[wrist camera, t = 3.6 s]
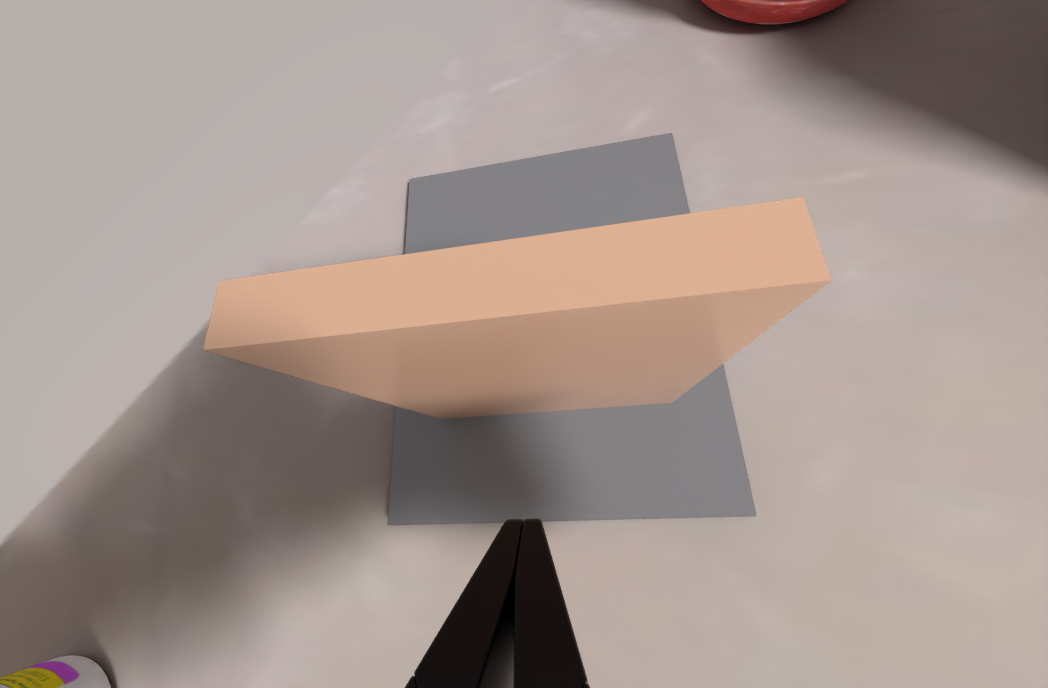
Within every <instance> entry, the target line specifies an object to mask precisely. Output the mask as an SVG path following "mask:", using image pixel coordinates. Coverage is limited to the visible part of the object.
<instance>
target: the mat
mask: <svg viewBox="0 0 1048 688" xmlns="http://www.w3.org/2000/svg"><path fill="white" fill-rule="evenodd" d="M689 213H690V212H689V207H688V203H687V198H686V194H685V189H684V185H683V180H682V176H681V171H680V166H679V162H678V157H677V153H676V148H675V144H674V139H673V135H672V133H668V134H663V135H657V136H651V137H646V138H640V139H634V140H629V141H623V142H617V143H612V144H606V145H600V146H595V147H589V148H583V149H578V150H572V151H566V152H561V153H555V154H549V155H544V156H538V157H532V158H527V159H521V160H515V161H510V162H504V163H498V164H493V165H487V166H481V167H476V168H470V169H464V170H459V171H453V172H447V173H442V174H436V175H430V176H425V177H419V178H413V179H410V181H409V197H408V212H407V228H406V244H405V254H411V253H418V252H425V251H432V250H438V249H445V248H452V247H459V246H466V245H473V244H480V243H487V242H494V241H501V240H508V239H515V238H522V237H529V236H536V235H543V234H550V233H557V232H564V231H571V230H578V229H585V228H592V227H599V226H606V225H613V224H620V223H626V222H633V221H640V220H647V219H654V218H661V217H668V216H675V215H682V214H689ZM744 516H757V515H756V511H755V506H754V502H753V497H752V493H751V488H750V483H749V479H748V474H747V470H746V465H745V461H744V456H743V452H742V447H741V443H740V438H739V434H738V429H737V425H736V420H735V416H734V411H733V406H732V402H731V397H730V393H729V388H728V384H727V379H726V375H725V370H724V366H723V364H722V365H720V366H719V367H718V368H717V369H715V370H714V371H713V372H711V373H710V374H709V375H707V376H706V377H705V378H704V379H702V380H701V381H700V382H698V383H697V384H696V385H694V386H693V387H692V388H690V389H689V390H688V391H687V392H685V393H684V394H683V395H681V396H680V397H679V398H677V399H676V400H675V401H674V402H672V403H662V404H648V405H634V406H619V407H605V408H591V409H576V410H562V411H548V412H533V413H519V414H505V415H490V416H476V417H462V418H447V419H439V418H436V417H432V416H429V415H426V414H422V413H419V412H415V411H412V410H408V409H405V408H401V407H398V406H395V417H394V433H393V449H392V464H391V480H390V496H389V512H388V525H414V524H455V523H496V522H505V521H506V520H508V519H523V521H524V520H525V519H532V518H539V519H540V520H541V521H579V520H620V519H661V518H702V517H744Z"/></svg>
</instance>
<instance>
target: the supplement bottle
mask: <svg viewBox="0 0 1048 688" xmlns="http://www.w3.org/2000/svg"><path fill="white" fill-rule="evenodd" d="M0 688H111V686H110V683H109V681H108V678H107V676H106V674H105V673H104V671H103V670H102V668H101V667H100V666H99V665H98V664H97V663H95V662H94V661H92V660H91V659H89V658H86V657H82V656H76V655H70V656H62V657H57V658H54V659H51V660H48V661H45V662H42V663H39V664H36V665H34V666H31V667H28V668H25V669H22V670H20V671H17V672H14V673H12V674H9V675H6V676H3V677H1V678H0Z"/></svg>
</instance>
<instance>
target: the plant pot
mask: <svg viewBox="0 0 1048 688" xmlns="http://www.w3.org/2000/svg"><path fill="white" fill-rule="evenodd" d="M701 1H702V2H703V3H704V4H705V5H707V6H708V7H709V8H711V9H712V10H714V11H716V12H717V13H719V14H721V15H723V16H726V17H729V18H731V19H735V20H738V21H743V22H748V23H756V24H784V23H791V22H797V21H801V20H806V19H809V18H812V17H816V16H818V15H821V14H824V13H826V12H828V11H830V10H833V9H835V8H837V7H839V6H841V5H842V4H844V3H846V2H847V1H849V0H701Z"/></svg>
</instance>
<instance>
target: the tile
mask: <svg viewBox="0 0 1048 688" xmlns="http://www.w3.org/2000/svg"><path fill="white" fill-rule="evenodd" d="M831 280H832V279H831V276H830V274H829V271H828V268H827V265H826V262H825V259H824V256H823V253H822V250H821V247H820V244H819V241H818V238H817V235H816V232H815V230H814V227H813V224H812V221H811V218H810V215H809V212H808V209H807V206H806V203H805V200H804V197H801V198H794V199H787V200H780V201H773V202H766V203H759V204H752V205H745V206H738V207H731V208H724V209H717V210H710V211H703V212H696V213H689V214H682V215H675V216H668V217H661V218H654V219H647V220H640V221H633V222H626V223H620V224H613V225H606V226H599V227H592V228H585V229H578V230H571V231H564V232H557V233H550V234H543V235H536V236H529V237H522V238H515V239H508V240H501V241H494V242H487V243H480V244H473V245H466V246H459V247H452V248H445V249H438V250H432V251H425V252H418V253H411V254H404V255H397V256H390V257H383V258H376V259H369V260H362V261H355V262H348V263H341V264H334V265H327V266H320V267H313V268H306V269H299V270H292V271H285V272H278V273H271V274H264V275H257V276H251V277H244V278H237V279H230V280H224V281H219V283H218V288H217V292H216V296H215V301H214V305H213V309H212V313H211V317H210V321H209V326H208V330H207V334H206V338H205V343H204V347H203V350H204V351H207V352H211V353H214V354H218V355H221V356H225V357H228V358H231V359H235V360H238V361H242V362H245V363H249V364H252V365H256V366H259V367H263V368H266V369H270V370H273V371H277V372H280V373H283V374H287V375H290V376H294V377H297V378H301V379H304V380H308V381H311V382H315V383H318V384H322V385H325V386H328V387H332V388H335V389H339V390H342V391H346V392H349V393H353V394H356V395H360V396H363V397H367V398H370V399H374V400H377V401H380V402H384V403H387V404H391V405H394V406H398V407H401V408H405V409H408V410H412V411H415V412H419V413H422V414H426V415H429V416H432V417H436V418H439V419H447V418H462V417H476V416H490V415H505V414H519V413H533V412H548V411H562V410H576V409H591V408H605V407H619V406H634V405H648V404H662V403H672V402H674V401H675V400H676V399H677V398H679V397H680V396H681V395H683V394H684V393H685V392H687V391H688V390H689V389H690V388H692V387H693V386H694V385H696V384H697V383H698V382H700V381H701V380H702V379H704V378H705V377H706V376H707V375H709V374H710V373H711V372H713V371H714V370H715V369H717V368H718V367H719V366H720V365H722V364H723V363H724V362H726V361H727V360H728V359H730V358H731V357H732V356H734V355H735V354H736V353H737V352H739V351H740V350H741V349H743V348H744V347H745V346H747V345H748V344H749V343H751V342H752V341H753V340H754V339H756V338H757V337H758V336H760V335H761V334H762V333H764V332H765V331H766V330H767V329H769V328H770V327H771V326H773V325H774V324H775V323H777V322H778V321H779V320H781V319H782V318H783V317H784V316H786V315H787V314H788V313H790V312H791V311H792V310H794V309H795V308H796V307H797V306H799V305H800V304H801V303H803V302H804V301H805V300H807V299H808V298H809V297H811V296H812V295H813V294H814V293H816V292H817V291H818V290H820V289H821V288H822V287H824V286H825V285H826V284H827V283H829V282H830V281H831Z"/></svg>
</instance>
